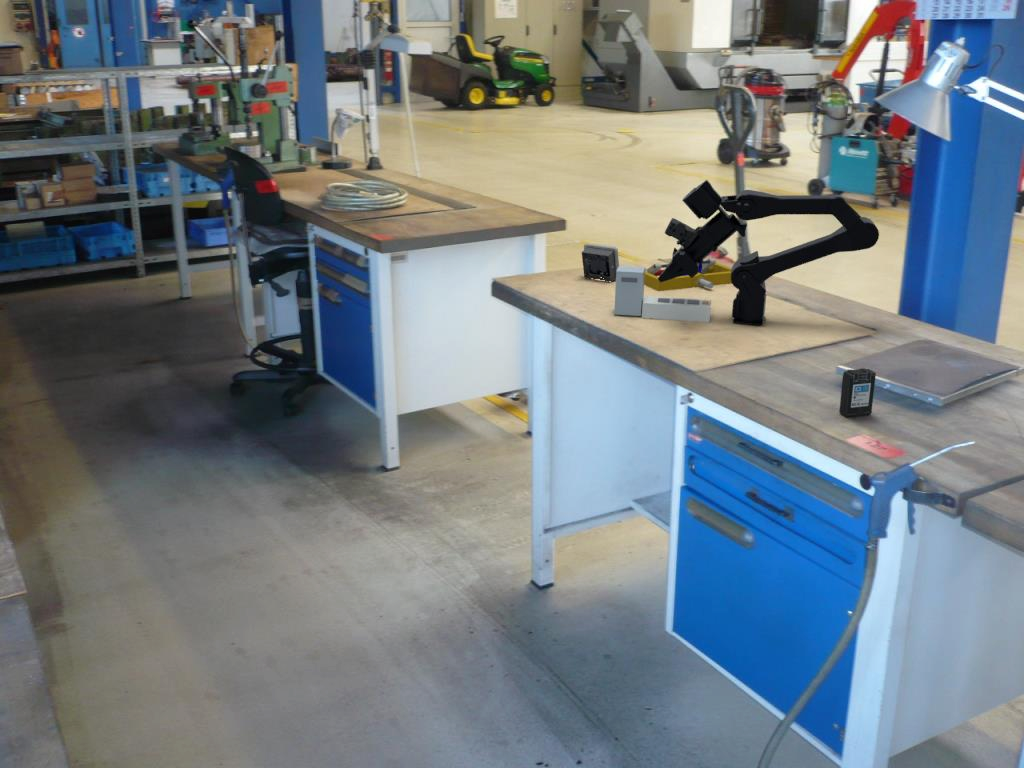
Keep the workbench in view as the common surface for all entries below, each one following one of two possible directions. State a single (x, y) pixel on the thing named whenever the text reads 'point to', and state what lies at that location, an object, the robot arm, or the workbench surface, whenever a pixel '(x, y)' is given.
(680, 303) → the power strip
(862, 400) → the ink cartridge
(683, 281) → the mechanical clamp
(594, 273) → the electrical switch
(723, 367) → the workbench surface
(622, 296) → the charger
